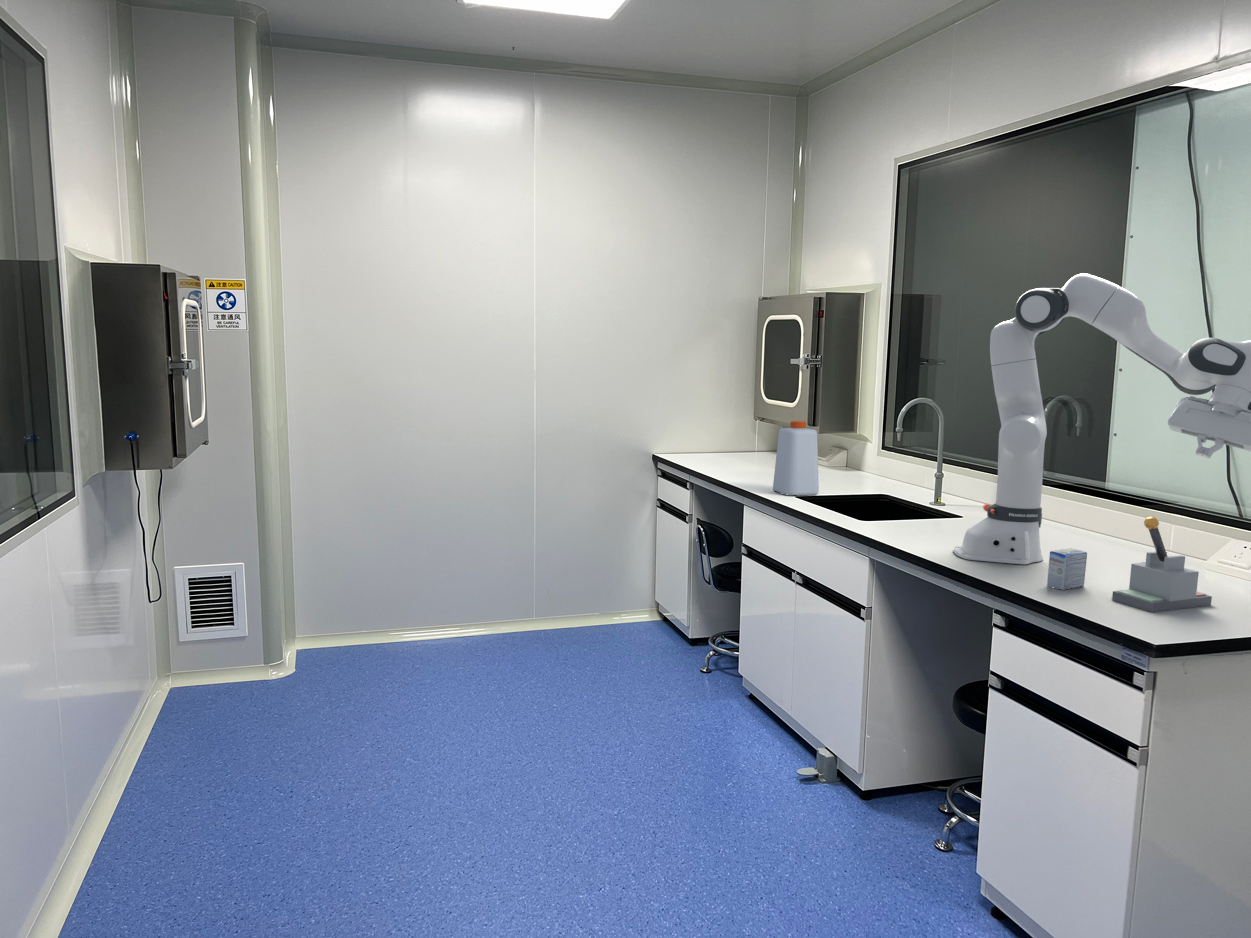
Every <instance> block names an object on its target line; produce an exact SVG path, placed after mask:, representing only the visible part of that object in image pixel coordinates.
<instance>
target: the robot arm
mask: <svg viewBox="0 0 1251 938" xmlns="http://www.w3.org/2000/svg"><path fill="white" fill-rule="evenodd" d="M1014 315H1015V317H1014V318H1011V319H1010V320H1006V321H1002V322H1000V323H998V324H997V325H995V326H994V327H993V329H992V330H991V332H990V336H989V337H990V338H989V339H990V340H989V355H990V365H991V373H992V382H993V389H994V396H995V398H996V404H997V409H998V414H999V415H998V416H999V419H1000V425H1001V427H1000V430H999V433H998V450H997V451H998V452H997V481H996V482H997V484H996V498H995V503H994V504H991V505H990V504H989V503H984V505H982V509H983V511H985V512H986V513H987V517H985V518H983V519H982V520H980V521H979V522H978V523H975V524H973V525H972V526H970V527H969V528H967V530H966V531H965V533H964V536H963V540H962V543H961V544H962V545H955V546H954V547H953V553H954V554H955V555H956V556H958V557H959V558H962V559H965V560H970V561H971V560H972V561H981V562H989V563H991V562H992V563H1001V564H1002V563H1003V564H1005V563H1006V564H1013V565H1014V564H1016V565H1029V564H1031V563H1038V562H1041V561H1043V560H1044V558H1043V554H1042V553H1043V552H1042V548H1041V539H1040V538H1041V537H1040V535H1041V534H1040V528H1041V525H1042V521H1043V520H1042V519H1043V508H1042V507H1041V502H1042V492H1043V478H1044V477H1043V475H1044V458H1045V447H1046V446H1045V443H1046V439H1047V434H1048V432H1047V429H1048V428H1047V423H1046V418H1045V417H1046V416H1045V410H1044V404H1043V397H1042V392H1041V387H1040V386H1041V385H1040V377H1039V372H1038V371H1039V370H1038V362H1037V357H1036V350H1035V341H1036V338H1037V337H1038V336H1040V335H1042V334H1044V333H1047V332H1049V331H1051V330H1054V329H1055V328H1057V327H1058V326H1059V325H1060V324H1061V323H1062V322H1063V321H1064V320H1065V318H1068V317H1073V318H1077V319H1079V320H1082V321H1083V322H1085V323H1087V324H1088V325H1091V326H1092V327H1094V328H1096V329H1098V330H1099V331H1101V332H1103V333H1105V334H1106V335H1108V336H1109V337H1111V338H1113V339H1114V340H1115V341H1117V342H1118V343H1120V344H1121V345H1122V346H1123V347H1124V348H1126V349H1127V350H1128V351H1130V352H1132V353H1133V354H1135V355H1136V356H1137V357H1139V358H1141V359H1142V360H1144V361H1145V362H1147V363H1148V364H1150V365H1151V366H1153V367H1154V368H1156V370H1157V369H1158V370H1159V371H1160V372H1162V373H1163V374H1164V375H1165V376H1167V378H1168V379H1169V380H1170V381H1171V383H1172V384H1173V385H1174V386H1175V387H1176V388H1177V389H1178V390H1179V391H1180V392H1182V393H1184V394H1187V395H1189V396H1185V397H1182V398H1180V399H1179V400H1178V402H1177V404H1176V408H1174V410H1173V412H1172V413H1171V414H1170V416H1169V417H1168V419H1167V425H1168V427H1169V429H1170V430H1171V431H1173V432H1177V433H1180V434H1184V435H1189V436H1191V437H1195V438H1196V439H1197V445H1198V446H1197V449H1196V450H1195V455H1197V456H1200V457H1204V458H1208V459H1211V457H1212V456H1213V454H1214V453H1216V452H1217V451H1219V450H1221V449H1223V447H1224V445H1225V446H1226V445H1227V446H1229V447H1234V448H1236V449H1241V450H1245V451H1249V452H1251V339H1249V340H1245V341H1244V340H1243V341H1229V340H1223V339H1220V338H1216V337H1205V338H1200V339H1199V340H1197V341H1195V342H1194V343H1193V344H1192V345H1191V346H1190V347H1189V348H1188V350H1187V351H1185V352H1183V351H1181V350H1179V349H1178V348H1176V347H1175V346H1174V345H1172V344H1170V343H1168V342H1167V341H1165V340H1164V339H1162V338H1161V337H1159V336H1157V335H1156V334H1155V332H1153V331H1152V329H1151V327H1150V326H1149V325H1150V324H1149V322H1148V319H1147V311H1146V308H1145V304H1144V302H1143V301H1142V300H1141V299H1140V298H1139V297H1138V296H1137V295H1135V294H1134V293H1132V292H1130V291H1129V290H1127V289H1125V288H1124V287H1121V286H1120V285H1118V284H1116V283H1114V282H1111V281H1109V280H1107V279H1104V278H1101V277H1098V276H1096V275H1092V274H1090V273H1084V272H1083V273H1082V272H1081V273H1079V274H1076V275H1074V276H1072V277H1071V278H1070V279H1068V280H1067V282H1066V283H1065V284H1064V286H1062V287H1061V288H1060V287H1038V288H1034V289H1033V288H1032V289H1029V290H1028V291H1026V292H1025V293H1023V294H1022V295H1021V296H1019V297H1018V300H1017V302H1016V304H1015V307H1014ZM1211 391H1213V392H1212V394H1211V395H1210V397H1209V399H1206V398H1201V397H1197V396H1200V395H1204V394H1207V393H1210V392H1211ZM1207 441H1211V442H1214V445H1211V446H1210V447H1205V446H1203V444H1206V442H1207Z"/></svg>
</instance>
